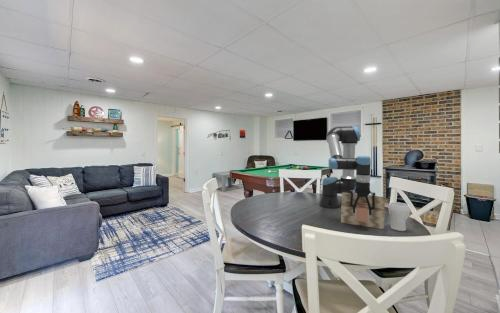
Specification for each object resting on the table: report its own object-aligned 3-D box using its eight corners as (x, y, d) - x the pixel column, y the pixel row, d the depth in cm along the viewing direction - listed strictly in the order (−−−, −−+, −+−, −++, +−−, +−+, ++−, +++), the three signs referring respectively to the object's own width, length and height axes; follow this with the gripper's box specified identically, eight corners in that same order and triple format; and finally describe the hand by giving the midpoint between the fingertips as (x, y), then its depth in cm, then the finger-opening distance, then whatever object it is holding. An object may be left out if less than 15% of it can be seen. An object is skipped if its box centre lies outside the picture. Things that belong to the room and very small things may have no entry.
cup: (400, 224, 135) (401, 201, 134) (413, 232, 124) (414, 206, 123) (383, 225, 135) (384, 201, 134) (395, 232, 124) (396, 207, 123)
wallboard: (340, 222, 140) (341, 193, 138) (341, 220, 144) (342, 192, 143) (383, 229, 128) (385, 198, 127) (383, 226, 133) (384, 196, 131)
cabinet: (356, 220, 128) (356, 205, 128) (356, 215, 137) (356, 201, 137) (367, 222, 126) (367, 207, 125) (367, 216, 135) (367, 202, 134)
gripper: (345, 181, 130) (344, 218, 131) (381, 184, 121) (380, 224, 122) (346, 179, 136) (345, 215, 138) (380, 181, 127) (379, 219, 129)
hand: (361, 219), depth 130 cm, fingers closed on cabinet, 6 cm apart
